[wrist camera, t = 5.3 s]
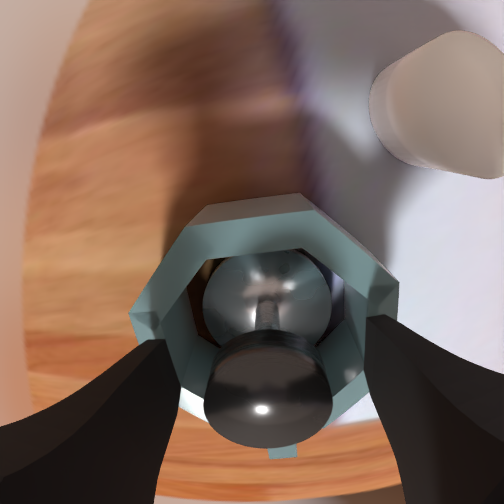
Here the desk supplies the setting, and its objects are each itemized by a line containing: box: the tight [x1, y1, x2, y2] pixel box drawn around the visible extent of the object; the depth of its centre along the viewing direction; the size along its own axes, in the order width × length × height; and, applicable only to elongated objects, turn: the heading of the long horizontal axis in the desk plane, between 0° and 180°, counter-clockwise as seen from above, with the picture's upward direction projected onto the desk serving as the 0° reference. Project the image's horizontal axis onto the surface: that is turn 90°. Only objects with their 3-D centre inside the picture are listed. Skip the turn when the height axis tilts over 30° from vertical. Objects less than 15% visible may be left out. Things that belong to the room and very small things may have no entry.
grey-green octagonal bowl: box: [128, 193, 399, 459], centre depth 12 cm, size 8×10×4 cm
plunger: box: [203, 249, 333, 449], centre depth 10 cm, size 5×5×6 cm
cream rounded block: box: [369, 31, 504, 179], centre depth 8 cm, size 4×4×4 cm
